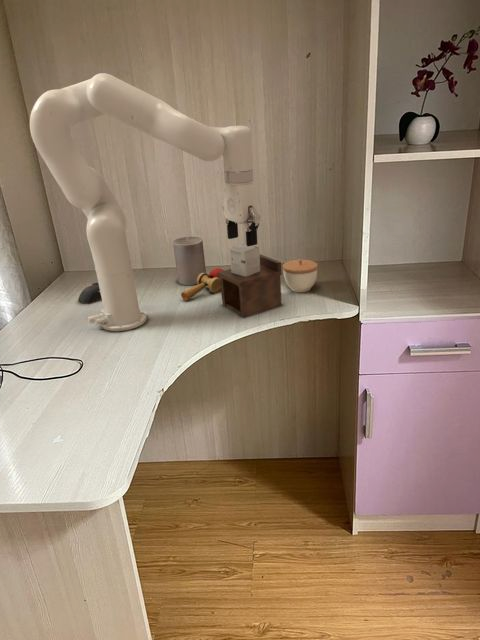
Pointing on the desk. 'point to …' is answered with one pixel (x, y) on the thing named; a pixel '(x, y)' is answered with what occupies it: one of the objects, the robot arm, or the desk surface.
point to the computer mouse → (90, 294)
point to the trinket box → (300, 274)
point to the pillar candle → (189, 259)
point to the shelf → (252, 288)
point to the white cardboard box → (245, 260)
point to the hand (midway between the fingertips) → (242, 241)
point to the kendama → (204, 284)
